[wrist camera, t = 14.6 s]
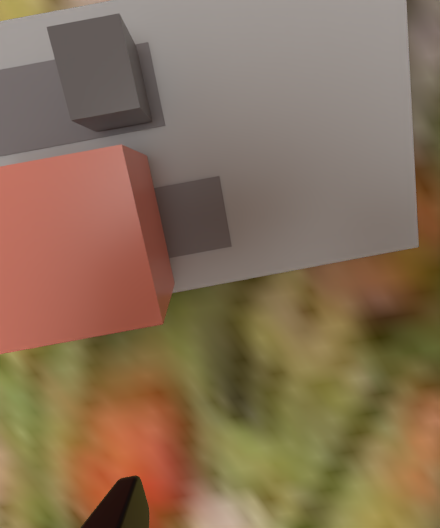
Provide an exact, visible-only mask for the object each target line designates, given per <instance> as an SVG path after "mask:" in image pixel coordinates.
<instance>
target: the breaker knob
mask: <svg viewBox="0 0 440 528" xmlns="http://www.w3.org/2000/svg"><path fill="white" fill-rule="evenodd" d="M47 31H48V35H49V39H50V43H51V46H52V50H53V54H54V58H55V62H56V65H57V69H58V73H59V77H60V81H61V84H62V88H63V92H64V96H65V100H66V104H67V107H68V111H69V115H70V119H71V121H73V122H75V123H77V124H80V125H82V126H84V127H86V128H88V129H91V130H93V131H95V132H98V131H104V130H109V129H114V128H120V127H125V126H130V125H136V124H141V123H146V122H152V118H151V114H150V109H149V104H148V100H147V95H146V90H145V85H144V81H143V76H142V71H141V67H140V62H139V57H138V53H137V48H136V45H135V43H134V41H133V39H132V37H131V35H130V33H129V31H128V29H127V27H126V25H125V23H124V21H123V19H122V17H121V15H120V13H118V14H113V15H107V16H102V17H97V18H91V19H86V20H81V21H75V22H70V23H65V24H59V25H54V26H49V27H47Z"/></svg>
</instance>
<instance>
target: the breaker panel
mask: <svg viewBox="0 0 440 528" xmlns="http://www.w3.org/2000/svg"><path fill="white" fill-rule="evenodd" d="M118 13H120V15H121V17H122V19H123V21H124V23H125V25H126V27H127V29H128V31H129V33H130V35H131V37H132V39H133V41H134V43H135V45H136V48H137V53H138V57H139V62H140V67H141V71H142V76H143V81H144V85H145V90H146V95H147V100H148V104H149V109H150V114H151V118H152V122H146V123H141V124H136V125H130V126H125V127H120V128H114V129H109V130H104V131H98V132H95V131H93V130H91V129H88V128H86V127H84V126H82V125H80V124H77V123H75V122H73V121H71V119H70V115H69V111H68V107H67V104H66V100H65V96H64V92H63V88H62V84H61V81H60V77H59V73H58V69H57V65H56V62H55V58H54V54H53V50H52V46H51V43H50V39H49V35H48V31H47V27H49V26H54V25H59V24H65V23H70V22H75V21H81V20H86V19H91V18H97V17H102V16H107V15H113V14H118ZM121 144H122V145H124V146H126V147H129V148H131V149H133V150H135V151H138V152H140V153H142V154H144V155H147V158H148V163H149V167H150V172H151V177H152V181H153V186H154V190H155V195H156V200H157V204H158V209H159V214H160V218H161V223H162V227H163V232H164V237H165V241H166V246H167V251H168V255H169V260H170V264H171V269H172V274H173V278H174V283H175V285H174V288H173V292H172V293H175V292H181V291H186V290H192V289H197V288H202V287H208V286H213V285H218V284H224V283H229V282H234V281H240V280H245V279H250V278H256V277H261V276H266V275H272V274H277V273H282V272H288V271H293V270H299V269H304V268H309V267H315V266H320V265H325V264H331V263H336V262H341V261H347V260H352V259H357V258H363V257H368V256H373V255H379V254H384V253H390V252H395V251H400V250H406V249H411V248H416V247H419V240H418V221H417V201H416V182H415V162H414V143H413V123H412V104H411V84H410V64H409V45H408V25H407V6H406V0H112V1H107V2H101V3H96V4H91V5H85V6H80V7H75V8H69V9H64V10H58V11H53V12H48V13H42V14H37V15H32V16H26V17H21V18H16V19H10V20H5V21H0V166H6V165H11V164H17V163H22V162H28V161H33V160H39V159H44V158H50V157H55V156H61V155H66V154H72V153H77V152H83V151H88V150H93V149H99V148H104V147H110V146H115V145H121Z"/></svg>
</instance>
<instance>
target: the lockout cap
mask: <svg viewBox="0 0 440 528" xmlns="http://www.w3.org/2000/svg"><path fill="white" fill-rule="evenodd" d="M174 285H175V283H174V278H173V274H172V269H171V264H170V260H169V255H168V251H167V246H166V241H165V237H164V232H163V227H162V223H161V218H160V214H159V209H158V204H157V200H156V195H155V190H154V186H153V181H152V177H151V172H150V167H149V163H148V158H147V155H144V154H142V153H140V152H138V151H135V150H133V149H131V148H129V147H126V146H124V145H122V144H121V145H115V146H110V147H104V148H99V149H93V150H88V151H83V152H77V153H72V154H66V155H61V156H55V157H50V158H44V159H39V160H33V161H28V162H22V163H17V164H11V165H6V166H0V354H3V353H9V352H14V351H19V350H25V349H30V348H36V347H41V346H47V345H52V344H58V343H63V342H69V341H74V340H80V339H85V338H90V337H96V336H101V335H107V334H112V333H118V332H123V331H129V330H134V329H140V328H145V327H151V326H156V325H161V324H163V323H164V319H165V316H166V312H167V309H168V305H169V302H170V299H171V295H172V292H173V288H174Z"/></svg>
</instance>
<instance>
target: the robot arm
mask: <svg viewBox="0 0 440 528" xmlns="http://www.w3.org/2000/svg"><path fill="white" fill-rule="evenodd" d="M81 528H149V507H148V503H147V499H146V496H145V492H144V489H143V485H142V482H141V479H140V478H139V477H138V476H131V477H125V478H121V479H119V480H118V481H117V482H116V484H115V485H114V486H113V487H112V489H111V490H110V491H109V492H108V494H107V495H106V496H105V497H104V499H103V500H102V501H101V503H100V504H99V505H98V506H97V508H96V509H95V510H94V511H93V513H92V514H91V515H90V516H89V518H88V519H87V520H86V521H85V523H84V524H83V525H82V526H81Z"/></svg>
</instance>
